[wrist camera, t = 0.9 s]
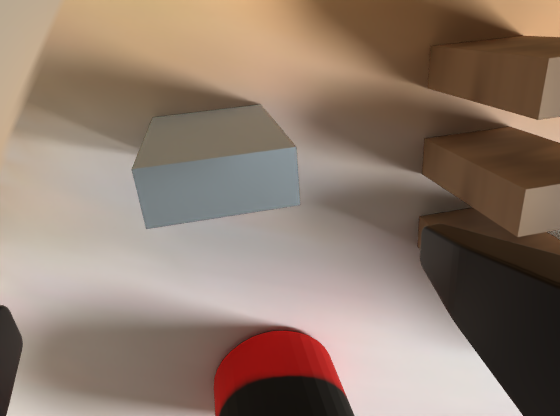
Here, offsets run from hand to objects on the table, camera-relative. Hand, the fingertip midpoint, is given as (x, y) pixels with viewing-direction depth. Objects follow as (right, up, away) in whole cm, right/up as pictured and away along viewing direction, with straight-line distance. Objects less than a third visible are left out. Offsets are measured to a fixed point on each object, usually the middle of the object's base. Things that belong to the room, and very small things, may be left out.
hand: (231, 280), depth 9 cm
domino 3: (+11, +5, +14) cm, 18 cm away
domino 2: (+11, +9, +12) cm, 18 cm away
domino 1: (-2, +5, +11) cm, 12 cm away
